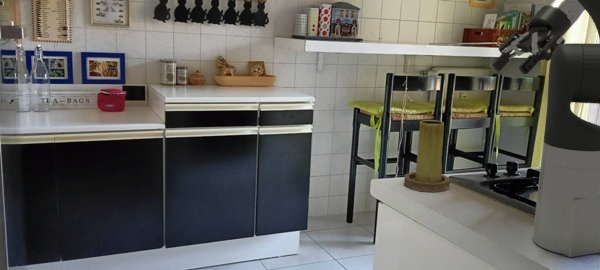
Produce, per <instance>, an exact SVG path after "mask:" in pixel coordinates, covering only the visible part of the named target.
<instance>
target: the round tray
mask: <svg viewBox="0 0 600 270" xmlns="http://www.w3.org/2000/svg"><path fill="white" fill-rule="evenodd" d="M415 175H416V171H411V172H408V173H406V174H404V180H403V181H404V182H403V183H404V186H405V187H407V188H408V189H411V190H413V191H418V192H425V193H439V192H440V193H441V192H444V191H447V190H448V189H449V188H450V182H451V181H450V177H449V176H446V175H444V174H443V173H441V178H442V182H439V183H422V182H418V181H414V180H415Z"/></svg>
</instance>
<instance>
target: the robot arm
mask: <svg viewBox="0 0 600 270" xmlns="http://www.w3.org/2000/svg"><path fill="white" fill-rule="evenodd" d="M584 11H586V13H587V14H588V15H589V17H590V18H591V20H592V22H593V23H594V26H595V28H596V31H597V34H598V38H599V39H600V0H547V1H546V2H545V3H544V4H543V6H542V7H541V8H540V9H539V10H538V11H537V12H536V13H535V14H534V15H533V16H532V18H531V19H530V20H529V21H528V22H529V23H528V28H527V30H526V31H525V32H523V33H522V34H520V33H519V31H515V32H513V33H512V34H511V35H510V36H509V37H508V38H507V39H506V40H505V41H504V42H503V43H502V44H501V46H500V47H499V48H498V51H499V53H500V55H499V57H498V58H497V59H495V61H494V62H493V63H492V66H493V68H494V69H495V71H497V72H498V71H499V72H500V71H501V70H502V69H504V68H505V66H506V65H507V64H508V63H509V61H510V60H512V59H513V58H515V57H516V56H519V57H520V56H522V55H524V54H528V53H530V55H528V56H527V57H526V58H525V60H523V62H522V63H521V64H520V65H519V69H518V70H519V71H520V72H521V74H523V75H528V74H529V72H531V71H532V70H533V68H535V67H536V65H538V63H539V64H540V63H542V62H543V61H546V62H549V61H550V62H549V67H548V69H549V70H548V83H547V84H548V86H547V88H548V89H547V103H546V104H547V105H546V115H545V125H544V135H543V141H542V142H543V143H542V149H541V150H542V152H541V158H540V159H541V160H540V168H539V178H538V188H537V194H536V195H537V196H536V202H535V203H536V204H535V212H534V223H533V231H532V232H533V233H532V241H533V242H534V243H535V244H536V245H537V246H539V247H540V248H542V249H545V250H547V251H550V252H553V253H557V254H560V255H561V254H562V255H564V256H566V257H569V258H573V257H574V258H575V257H580V256H581V257H582V256H587V255H593V254H598V253H600V125H599V124H596V123H593V122H590V121H588V120H585V119H584V118H582V117H580V116H578V115H577V114H575V113H574V112H573V111H572V109H571V104H572V103H575V104H578V103H580V104H597V105H598V104H599V105H600V43H583V42H582V43H581V42H580V43H576V42H575V43H566V40H565V39H564V35H565V34H566V33H567V32H568V31H569V30H570V28H572V26H573V25H574V24H575V23H576V22H577V21H578V19H580V17H581V15H582V14H583V12H584ZM518 46H519V48H520V49H519V48H518ZM548 51H549V52H548Z"/></svg>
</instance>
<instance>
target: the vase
mask: <svg viewBox="0 0 600 270" xmlns="http://www.w3.org/2000/svg"><path fill="white" fill-rule="evenodd" d="M444 130H445V122H444V121H442V120H437V119H436V120H433V119H432V120H431V119H428V120H427V119H424V120H421V121H419V131H418V143H417V144H418V145H417V155H416V164H415V165H416V167H415V172H416V175H415V180H414V181H418V182H422V183H439V182H442V178H441V174H443V173H442V170H443V169H442V166H443V161H442V157H443V144H444V133H445V132H444Z"/></svg>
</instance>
